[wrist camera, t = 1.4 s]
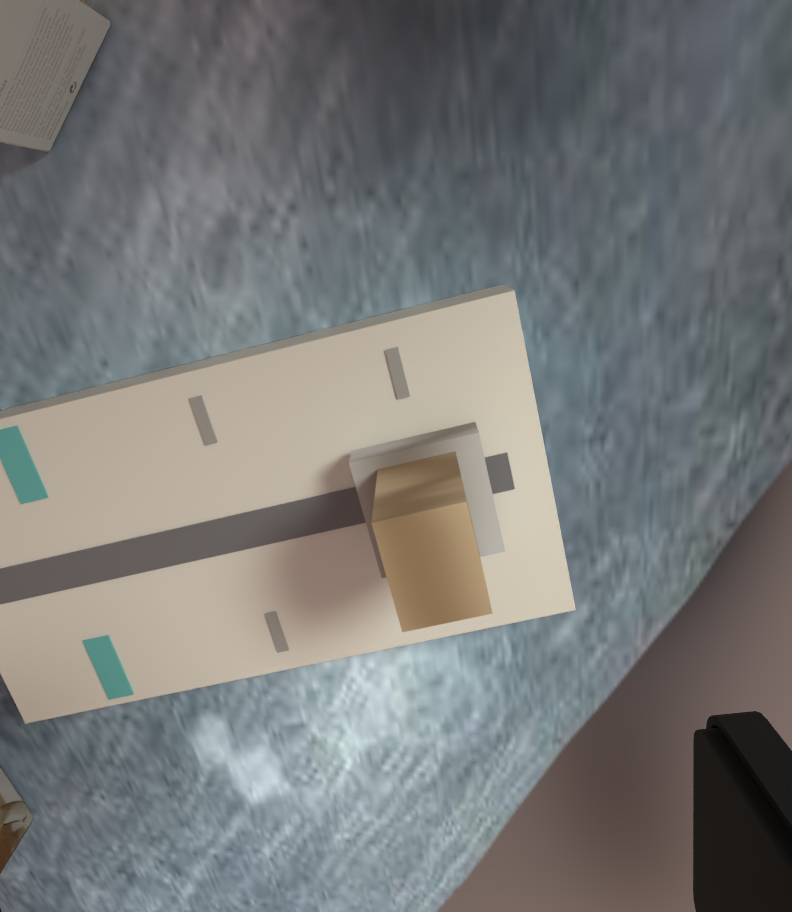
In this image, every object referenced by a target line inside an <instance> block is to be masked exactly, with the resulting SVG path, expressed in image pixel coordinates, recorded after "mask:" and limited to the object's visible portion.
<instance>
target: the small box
mask: <svg viewBox="0 0 792 912" xmlns="http://www.w3.org/2000/svg"><path fill="white" fill-rule="evenodd" d="M109 27H110V21H109V20H108V19H107V18H106V17H104V16H103V15H101V14H100V13H98V12H97V11H95V10H94V9H93V8H91V7H90V6H88V5H87V4H86V3H84V2H83V1H81V0H0V143H5V144H10V145H14V146H19V147H26V148H30V149H35V150H41V151H46V152H49V151H50V150H51V148H52V146H53V143H54V141H55V139H56V137H57V135H58V133H59V131H60V129H61V127H62V125H63V123H64V120H65V118H66V116H67V114H68V112H69V110H70V108H71V106H72V104H73V102H74V100H75V97H76V95H77V93H78V91H79V89H80V87H81V85H82V83H83V81H84V79H85V77H86V75H87V72H88V70H89V68H90V66H91V64H92V62H93V60H94V58H95V56H96V54H97V52H98V50H99V48H100V46H101V44H102V41H103V39H104V37H105V35H106V33H107V31H108V29H109Z"/></svg>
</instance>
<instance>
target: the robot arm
mask: <svg viewBox="0 0 792 912" xmlns="http://www.w3.org/2000/svg"><path fill="white" fill-rule="evenodd" d="M693 813H694V814H693V819H694V820H693V821H694V824H693V828H694V829H693V836H694V838H693V839H694V840H693V850H694V851H693V855H694V856H693V875H694V876H693V894H694V903H695V909H696V912H792V751H791V750H790V748H789V747H788V746H787V744H786V743H785V742H784V741H783V739H782V738H781V737H780V735H779V734H778V733H777V732H776V730H775V729H774V728H773V727H772V725H771V724H770V723H769V721H768V720H767V719H766V718H765V717H764V716H763V715H762V714H761V713H759V712H756V711H754V712H743V713H733V714H723V715H713V716H710V717H709V718H708V721H707V726H706V729H701V730H696V731H695V733H694V812H693ZM0 912H1V909H0Z"/></svg>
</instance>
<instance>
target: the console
mask: <svg viewBox="0 0 792 912" xmlns="http://www.w3.org/2000/svg"><path fill="white" fill-rule="evenodd" d="M472 422H475V423H476V426H477V428H478V431H479V435H480V440H481V444H482V449H483V453H484V458H485V462H486V467H487V471H488V476H489V480H490V485H491V489H492V494H493V498H494V503H495V507H496V512H497V516H498V521H499V526H500V530H501V535H502V539H503V544H504V548H505V552H501V553H496V554H492V555H487V556H483V557H480V559H481V563H482V568H483V572H484V577H485V581H486V586H487V590H488V595H489V600H490V604H491V609H492V613H493V614H488V615H483V616H478V617H474V618H469V619H464V620H459V621H454V622H450V623H445V624H440V625H435V626H431V627H426V628H421V629H416V630H411V631H407V632H402V630H401V626H400V622H399V619H398V615H397V612H396V608H395V605H394V601H393V598H392V594H391V591H390V587H389V584H388V580H387V577H385V578H382V577H381V574H380V570H379V567H378V563H377V560H376V556H375V553H374V549H373V546H372V542H371V539H370V535H369V532H368V528H367V525H366V521H365V518H364V514H363V511H362V507H361V504H360V500H359V497H358V493H357V490H356V486H355V483H354V479H353V476H352V472H351V469H350V465H349V460H350V456H351V452H352V451H353V450H357V449H361V448H366V447H370V446H374V445H378V444H383V443H387V442H391V441H395V440H400V439H404V438H408V437H412V436H417V435H421V434H425V433H430V432H434V431H438V430H442V429H447V428H451V427H455V426H459V425H464V424H468V423H472ZM573 610H576V609H575V604H574V599H573V593H572V588H571V583H570V578H569V573H568V567H567V562H566V557H565V552H564V547H563V541H562V536H561V531H560V526H559V520H558V515H557V510H556V505H555V500H554V494H553V489H552V484H551V479H550V473H549V468H548V463H547V458H546V453H545V447H544V442H543V437H542V432H541V427H540V421H539V416H538V411H537V406H536V400H535V395H534V390H533V385H532V380H531V374H530V369H529V364H528V359H527V353H526V348H525V343H524V338H523V333H522V327H521V322H520V317H519V312H518V307H517V301H516V296H515V291H514V290H513V289H511V288H510V287H508V286H506V285H504V284H502V285H498V286H494V287H490V288H486V289H482V290H478V291H474V292H470V293H466V294H462V295H458V296H454V297H451V298H447V299H443V300H439V301H435V302H431V303H427V304H423V305H419V306H415V307H411V308H407V309H403V310H399V311H395V312H391V313H387V314H383V315H379V316H375V317H371V318H367V319H363V320H359V321H355V322H351V323H347V324H343V325H339V326H335V327H331V328H327V329H323V330H319V331H315V332H311V333H307V334H303V335H299V336H296V337H292V338H288V339H284V340H280V341H276V342H272V343H268V344H264V345H260V346H256V347H252V348H248V349H244V350H240V351H236V352H232V353H228V354H224V355H220V356H216V357H212V358H208V359H204V360H200V361H196V362H192V363H188V364H184V365H180V366H176V367H172V368H168V369H164V370H160V371H156V372H152V373H148V374H144V375H141V376H137V377H133V378H129V379H125V380H121V381H117V382H113V383H109V384H105V385H101V386H97V387H93V388H89V389H85V390H81V391H77V392H73V393H69V394H65V395H61V396H57V397H53V398H49V399H45V400H41V401H37V402H33V403H29V404H25V405H21V406H17V407H13V408H9V409H5V410H1V411H0V674H1V676H2V678H3V680H4V682H5V684H6V686H7V688H8V690H9V692H10V694H11V696H12V698H13V700H14V702H15V704H16V706H17V708H18V710H19V712H20V714H21V716H22V718H23V720H24V722H25V724H26V723H31V722H35V721H40V720H45V719H50V718H55V717H60V716H65V715H69V714H74V713H79V712H84V711H89V710H94V709H98V708H103V707H108V706H113V705H118V704H123V703H127V702H132V701H137V700H142V699H147V698H152V697H156V696H161V695H166V694H171V693H176V692H181V691H185V690H190V689H195V688H200V687H205V686H210V685H215V684H219V683H224V682H229V681H234V680H239V679H244V678H248V677H253V676H258V675H263V674H268V673H273V672H277V671H282V670H287V669H292V668H297V667H302V666H306V665H311V664H316V663H321V662H326V661H331V660H335V659H340V658H345V657H350V656H355V655H360V654H365V653H369V652H374V651H379V650H384V649H389V648H394V647H398V646H403V645H408V644H413V643H418V642H423V641H427V640H432V639H437V638H442V637H447V636H452V635H456V634H461V633H466V632H471V631H476V630H481V629H485V628H490V627H495V626H500V625H505V624H510V623H515V622H519V621H524V620H529V619H534V618H539V617H544V616H548V615H553V614H558V613H563V612H568V611H573Z"/></svg>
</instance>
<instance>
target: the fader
mask: <svg viewBox="0 0 792 912" xmlns="http://www.w3.org/2000/svg"><path fill="white" fill-rule="evenodd" d="M349 465H350V469H351V472H352V476H353V479H354V483H355V486H356V490H357V493H358V497H359V500H360V504H361V507H362V511H363V514H364V518H365V521H366V525H367V528H368V532H369V535H370V539H371V542H372V546H373V549H374V553H375V556H376V560H377V563H378V567H379V570H380V574H381V577H382V578H385V577H387V580H388V584H389V587H390V591H391V594H392V598H393V601H394V605H395V608H396V612H397V615H398V619H399V622H400V626H401V630H402V632H407V631H411V630H416V629H421V628H426V627H431V626H435V625H440V624H445V623H450V622H454V621H459V620H464V619H469V618H474V617H478V616H483V615H488V614H493V613H492V609H491V604H490V600H489V595H488V590H487V586H486V581H485V577H484V572H483V568H482V563H481V559H480V557H483V556H487V555H492V554H496V553H501V552H505V548H504V544H503V539H502V535H501V530H500V526H499V521H498V516H497V512H496V507H495V503H494V498H493V494H492V489H491V485H490V480H489V476H488V471H487V467H486V462H485V458H484V453H483V449H482V444H481V440H480V435H479V431H478V428H477V426H476V423H475V422H472V423H468V424H464V425H459V426H455V427H451V428H447V429H442V430H438V431H434V432H430V433H425V434H421V435H417V436H412V437H408V438H404V439H400V440H395V441H391V442H387V443H383V444H378V445H374V446H370V447H366V448H361V449H357V450H353V451H352V452H351V456H350V460H349Z"/></svg>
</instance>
